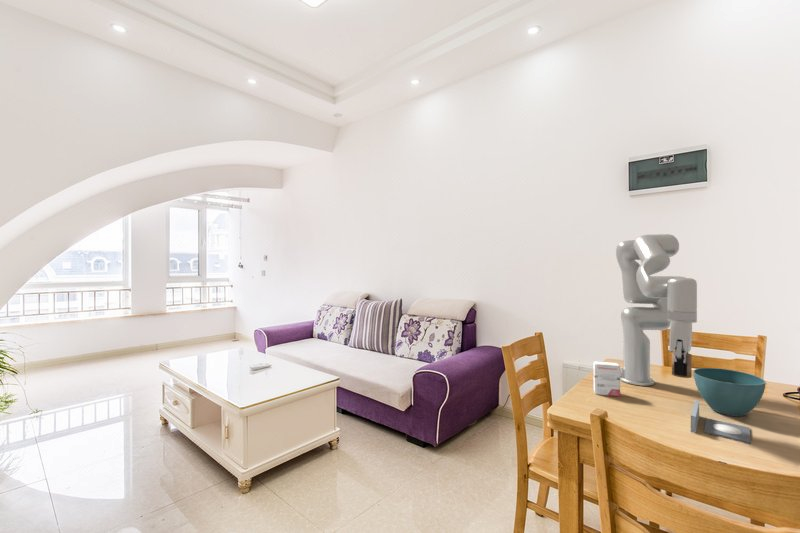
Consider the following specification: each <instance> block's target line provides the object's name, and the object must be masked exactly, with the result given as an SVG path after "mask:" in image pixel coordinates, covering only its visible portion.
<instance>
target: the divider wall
mask: <svg viewBox="0 0 800 533" xmlns="http://www.w3.org/2000/svg"><path fill="white" fill-rule="evenodd" d="M699 419H700V400H696V399H694V401H693V405H692V409H691V412H690V433H693V434H696V433H697V430H698V423H699V421H700V420H699Z"/></svg>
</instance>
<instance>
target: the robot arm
mask: <svg viewBox="0 0 800 533" xmlns="http://www.w3.org/2000/svg"><path fill="white" fill-rule="evenodd" d="M615 248H616V249H615V256H616V261H617V263H618V266H619V268H620V271H621V280H622V292H623V293H622V294H623V299H624V301H625V302H626V303H629V304H632V305H633V304H634V305H635V304H638V305H653V306H652V307H650V306H649V307H647V306H630V307H626V308H623V309H622V311H621V313H620V319H621V325H622V326H621V327H622V334H623V341H622V342H623V351H622V352H623V353H622V354H623V368H622V367H620V382H623V383H626V384H629V385H634V386H635V385H636V386H642V387H645V386H646V387H647V386H654V385H655V382H656V381H655V380H654V379H653V378H652V377H651V341H650V338H649V337H648V335H647V334H645V332H644V331H665V330H668V329H669V343H668V344H669V347H668V348H669V349H668V352H670V353H672V352H675V361H674V374H675V375H681V376H687V363H686V354H688V353H689V354H690V352H691V349H692V343H693V324H695V323H697V322H698V283H697V280H696V279H694V278H691V277H686V276H680V275H679V276H677V275H675V276H671V275H670V276H669V275H665V276H663V275H661V276H660V275H658V276H657V275H655V274H657V273H660V272H662V271H664V270H665V269H667V268H668V267H669V265H670V264H671V257H674V256H675V255H677V253H678V252H679V251H680V243H679V240H678V238H677V237H676V236H674V234H673V235H672V234H668V233H667V234H666V233H665V234H664V233H662V234H659V233H658V234H644V235H640V236H638V237H637V238H635V239H631V240H624V241H620V242H619V243H618V244H617V246H616V247H615ZM638 261H640V262H641V263H639V262H638ZM654 275H655V276H654ZM682 352H684V353H682ZM682 355H684V358H683V356H682Z"/></svg>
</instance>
